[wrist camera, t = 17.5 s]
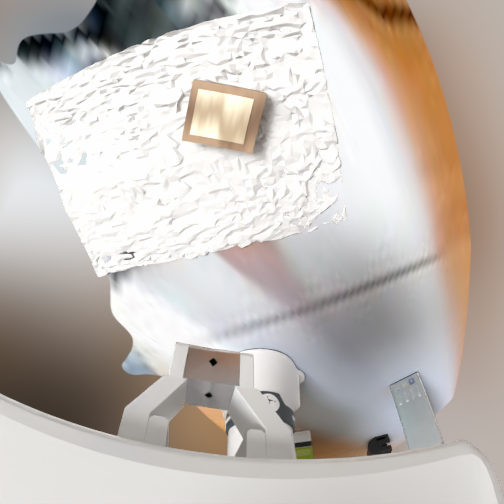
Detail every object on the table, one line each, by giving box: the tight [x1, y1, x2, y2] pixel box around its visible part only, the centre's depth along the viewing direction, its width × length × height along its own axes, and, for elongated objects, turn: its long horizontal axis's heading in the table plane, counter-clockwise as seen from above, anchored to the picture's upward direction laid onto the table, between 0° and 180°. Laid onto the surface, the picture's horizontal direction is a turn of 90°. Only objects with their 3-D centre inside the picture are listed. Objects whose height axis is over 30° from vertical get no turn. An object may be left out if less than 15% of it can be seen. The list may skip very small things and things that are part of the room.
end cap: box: [367, 434, 392, 456], centre depth 81 cm, size 10×7×7 cm
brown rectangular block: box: [182, 80, 267, 154], centre depth 33 cm, size 7×3×8 cm
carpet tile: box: [26, 3, 347, 277], centre depth 38 cm, size 39×30×2 cm
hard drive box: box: [390, 372, 445, 450], centre depth 59 cm, size 16×8×20 cm, turn 35°
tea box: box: [294, 430, 314, 459], centre depth 73 cm, size 15×10×15 cm, turn 9°
